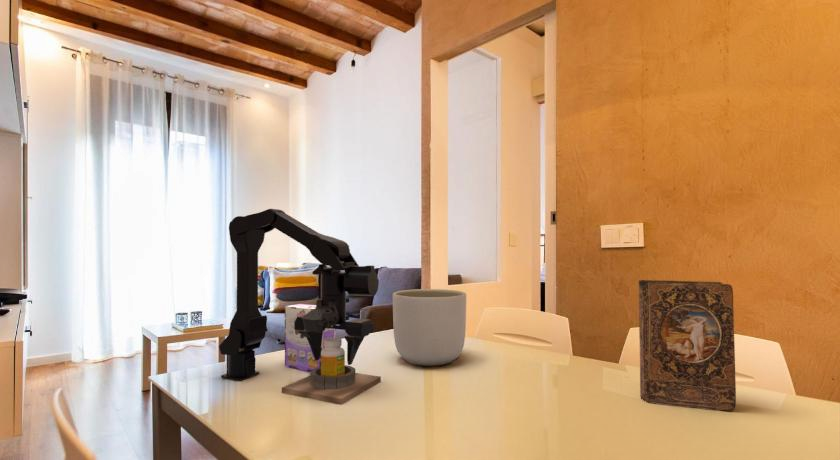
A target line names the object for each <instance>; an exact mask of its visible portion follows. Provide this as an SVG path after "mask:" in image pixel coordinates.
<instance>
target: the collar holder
mask: <svg viewBox="0 0 840 460" xmlns="http://www.w3.org/2000/svg"><path fill="white" fill-rule="evenodd" d="M381 382H382V376H378V375H373V374H372V375H371V374H365V373H359V372H356V368H355V367H353V366H351V365H348V364H345V375H340V376H321V367H318V368H315V369H313V370H312V371H311V372H309V375H308V376H306V377H303V378H301V379H299V380H296V381H294V382H292V383H289V384H287V385H284V386H282V387H281V393H282V394H285V395H290V396H295V397H300V398H306V399H311V400H316V401H320V402H326V403H332V404H337V405H343V404H345V403H346V402H348V401H350V400H351V399H354V398H356V396H359V395H360V394H362V393H364V392H366V391H367V390H369V389H371V388H373V387H375V386H376V385H377V384H379V383H381Z"/></svg>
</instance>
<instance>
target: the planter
mask: <svg viewBox="0 0 840 460" xmlns="http://www.w3.org/2000/svg"><path fill="white" fill-rule="evenodd" d="M392 321H393V327H392V328H393V339H394V344H395V345H394V346H395V348H396V351H397V353H398V354H399V355H400V356H401V358H402V359H404V360H405V361H407V362H408V363H410V364H411V365H416V366H423V367H424V366H425V367H434V366H436V367H437V366H443V365H447V364H450V363H451V362H453V361H454V360H456V359H457V358H458V357H459V355H460V354H461V353H462V351H463V349H464V345H465V341H466V340H465V339H466V330H467V328H466V326H467V325H466V324H467V293H466V291H465V292H464V291H461V290H455V289H443V288H442V289H441V288H420V289H419V288H417V289H406V290H405V289H404V290H398V291H395V292H393V293H392Z"/></svg>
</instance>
